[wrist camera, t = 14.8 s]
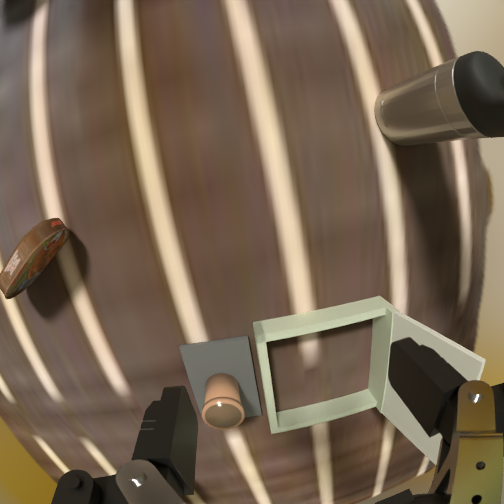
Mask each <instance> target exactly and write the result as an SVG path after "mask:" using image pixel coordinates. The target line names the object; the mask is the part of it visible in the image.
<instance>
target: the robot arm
mask: <svg viewBox="0 0 504 504" xmlns="http://www.w3.org/2000/svg"><path fill="white" fill-rule="evenodd" d="M375 116H376V120H377V123H378V125H379V128H380V129H381V131H382V132H383V134H384V135H385V136H386V137H387V138H388V139H389V140H390V141H392V142H393V143H395V144H397V145H401V146H410V145H418V144H427V143H436V142H445V141H454V140H465V139H475V138H489V137H491V138H492V137H504V67H503V66H502V65H501V64H500V63H499V62H498V61H497V60H496V59H495V58H494V57H492V56H491V55H489V54H487V53H485V52H480V51H475V52H471V53H468V54H466V55H463V56H460V57H458V58H455V59H453V60H450V61H448V62H445V63H443V64H441V65H439V66H436V67H434V68H432V69H429V70H427V71H425V72H422V73H420V74H418V75H416V76H413V77H411V78H409V79H407V80H405V81H402V82H400V83H398V84H396V85H394V86H392V87H390V88H388V89H386V90H384V91H382V92H381V93H380V94H379V96H378V97H377V100H376V103H375ZM388 379H389V382H390V385H391V386H392V388H393V389H394V390H395V392H396V393H397V394H398V396H399V397H400V398H401V400H402V401H403V402H404V404H405V405H406V406H407V408H408V409H409V410H410V412H411V413H412V414H413V416H414V417H415V419H416V420H417V421H418V423H419V424H420V425H421V427H422V428H423V429H424V431H425V432H426V434H427V435H428V436H429V438H430V437H432V436H434V435H436V434H438V433H440V434H441V435H442V438H441V441H440V447H439V453H438V459H437V464H436V469H435V474H434V478H433V481H432V484H431V487H430V489H429V492H428V493H427V494H417V495H412V493H411V491H410V490H409V489H407V490H405V491H403V492H401V493H398V494H396V495H394V496H391V497H389V498H386V499H384V500H381V501H378V502H377V503H375V504H500V503H501V494H502V482H503V457H504V383H502V384H499V385H495V386H489V384H487V383H485V382H483V381H480V380H471V381H468V380H466V379H465V378H464V377H463V376H462V375H461V374H460V373H459V372H458V371H457V370H456V369H455V368H454V367H452V366H451V365H450V364H449V363H447V362H446V360H445V359H444V358H443V357H441V356H440V355H439V354H438V353H437V352H436V351H435V350H434V349H432V348H430V347H427V346H425V345H420V346H419V345H418V344H417V343H416V342H415V341H414V340H413V339H412V338H411V337H406V338H403V339H400V340H398V341H395V342H392V343H391V346H390V356H389V367H388ZM197 435H198V421H197V416H196V413H195V411H194V408H193V405H192V403H191V400H190V398H189V395H188V392H187V390H186V388H185V386H175V387H165V388H164V389H163V393H162V397H161V401H153V402H152V403H151V405H150V406H149V407H148V408H147V409H146V411H145V414H144V418H143V422H142V425H141V430H140V432H139V435H138V439H137V442H136V446H135V450H134V453H133V457H132V460H131V461H129V462H127V463H125V464H123V465H122V466H121V467H120V468H119V469H118V471H117V473H116V474H115V475H111V476H106V477H100V478H92V477H91V476H90V474H88V473H87V472H85V471H83V470H72V471H69V472H67V473H65V474H64V475H63V476H62V477H61V478H60V480H59V482H58V485H57V488H56V491H55V494H54V497H53V500H52V503H51V504H186V503H185V502H184V501H183V498H184V495H194V479H195V463H196V448H197Z"/></svg>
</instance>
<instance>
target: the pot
mask: <svg viewBox="0 0 504 504" xmlns="http://www.w3.org/2000/svg"><path fill="white" fill-rule="evenodd" d="M202 418H203V420H204V422H205V423H206V424H207V425H209V426H210V427H213V428H216V429H231V428H234V427H236V426H238V425H239V424H241V423H242V421H243V420H244V408H243V406H242V404H241V400H240V392H239V383H238V381H237V379H236V378H235V377H233V376H232V375H230V374H226V373H218V374H214V375H212V376H210V377H209V378H208V379H207V381H206V383H205V404H204V406H203V408H202Z"/></svg>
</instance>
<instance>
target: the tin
mask: <svg viewBox="0 0 504 504" xmlns="http://www.w3.org/2000/svg"><path fill="white" fill-rule="evenodd" d="M69 235H70V231H69V230H68V229H67V228H66V227H65V225H64V224H63V222H62V221H61V220H60V219H59V218H52V219H49V220H45V221H42V222H41V223H39V224H38V225H36V226H35V227H33V228H32V229H31V230H30V231H29V232H28V233H27V234H26V235H25V236H24V237H23V239H22V240H21V241H20V243H19V244H18V246H17V247H16V249H15V250H14V252H13V253H12V255H11V256H10V258H9V260H8V261H7V263H6V265H5V266H4V268H3V270H2V271H1V273H0V289H1V291H2V292H3V294H4V295H5V298H6V299H11V298H13V297H15V296H17V295H18V294H20V293H21V292H22V291H24V290H25V289H26V288H27V287H29V286H30V285H31V284H32V283H33V282H34V281H35V280H36V279H37V277H38V276H39V275H40V274H41V273H42V271H43V270H44V269H45V267H46V266H47V265H48V263H49V262H50V261H51V260H52V258H53V257H54V256H55V255H56V254H57V252H58V251H59V250H60V249H61V247H62V246H63V245H64V244H65V242H66V241H67V239H68V237H69Z"/></svg>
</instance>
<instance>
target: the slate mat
mask: <svg viewBox="0 0 504 504" xmlns="http://www.w3.org/2000/svg"><path fill="white" fill-rule="evenodd" d="M180 351H181V354H182V358H183V361H184V364H185V368H186V371H187V374H188V377H189V380H190V383H191V387H192V390H193V393H194V396H195V399H196V402H197V404H198V407H199V410H200V413H201V416H202V408H203V406H204V404H205V383H206V381H207V379H208V378H209V377H210V376H212V375H214V374H218V373H226V374H230V375H232V376H233V377H235V378H236V379H237V381H238V383H239V392H240V400H241V404H242V406H243V408H244V418H246V417H252V416H259V415H262V414H261V408H260V403H259V397H258V392H257V386H256V381H255V375H254V369H253V364H252V358H251V352H250V346H249V341H248V335H247V336H241V337H235V338H229V339H222V340H215V341H208V342H201V343H193V344H185V345H180ZM202 419H203V418H202ZM203 421H204V420H203ZM204 423H205V422H204Z"/></svg>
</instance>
